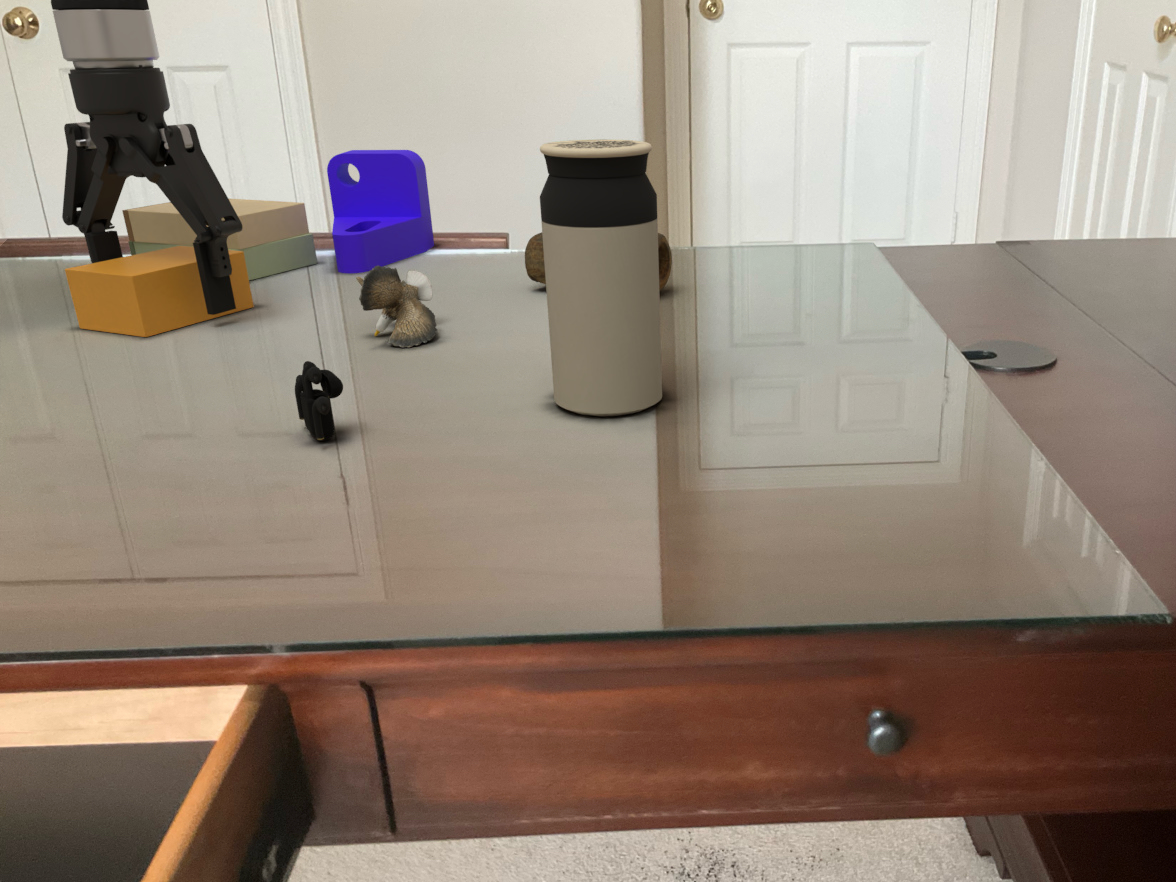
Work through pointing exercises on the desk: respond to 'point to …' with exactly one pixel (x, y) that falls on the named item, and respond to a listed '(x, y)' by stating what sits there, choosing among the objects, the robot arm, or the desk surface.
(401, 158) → the bracket
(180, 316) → the orange block
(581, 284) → the travel mug
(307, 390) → the wireless earbuds
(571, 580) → the desk surface
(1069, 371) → the desk surface
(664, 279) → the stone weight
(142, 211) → the beige and green block
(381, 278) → the eagle figurine
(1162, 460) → the desk surface
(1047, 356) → the desk surface
